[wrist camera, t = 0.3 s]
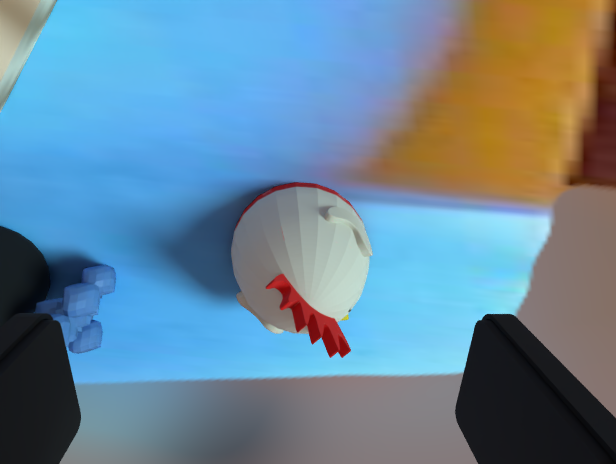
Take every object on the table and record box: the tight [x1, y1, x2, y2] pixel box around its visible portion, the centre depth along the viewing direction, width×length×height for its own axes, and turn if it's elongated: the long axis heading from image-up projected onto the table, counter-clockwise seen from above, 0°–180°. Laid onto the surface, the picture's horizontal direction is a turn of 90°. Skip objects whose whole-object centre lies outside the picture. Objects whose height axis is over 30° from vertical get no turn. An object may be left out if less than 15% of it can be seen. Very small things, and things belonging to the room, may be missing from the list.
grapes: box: [35, 265, 116, 353], centre depth 36 cm, size 12×7×12 cm, turn 133°
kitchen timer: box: [231, 182, 373, 358], centre depth 34 cm, size 14×14×15 cm
